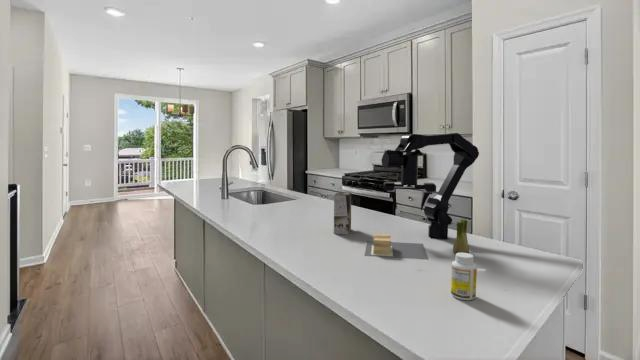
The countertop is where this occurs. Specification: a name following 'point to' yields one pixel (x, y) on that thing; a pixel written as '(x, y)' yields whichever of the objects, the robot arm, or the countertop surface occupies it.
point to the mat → (400, 250)
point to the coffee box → (342, 213)
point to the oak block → (382, 244)
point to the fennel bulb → (461, 238)
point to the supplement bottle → (463, 277)
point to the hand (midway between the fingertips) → (408, 209)
